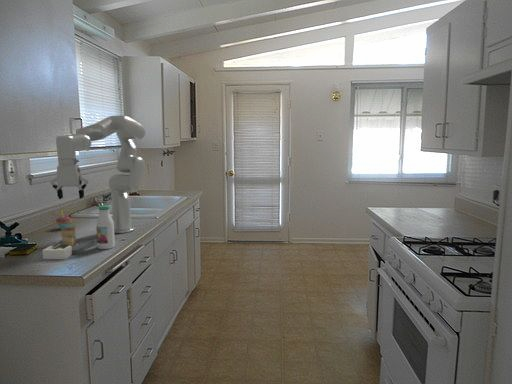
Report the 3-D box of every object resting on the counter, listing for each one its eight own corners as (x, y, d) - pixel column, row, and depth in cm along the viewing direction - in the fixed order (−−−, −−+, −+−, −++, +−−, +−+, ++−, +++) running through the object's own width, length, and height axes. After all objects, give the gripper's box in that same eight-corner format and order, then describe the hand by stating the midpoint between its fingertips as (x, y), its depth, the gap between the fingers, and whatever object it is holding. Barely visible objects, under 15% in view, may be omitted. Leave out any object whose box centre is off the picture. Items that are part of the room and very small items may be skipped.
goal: (51, 254, 174) (50, 245, 174) (72, 254, 174) (71, 245, 174) (43, 259, 168) (42, 250, 167) (65, 259, 168) (64, 250, 167)
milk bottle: (109, 244, 191) (107, 204, 188) (118, 246, 186) (115, 205, 183) (94, 247, 185) (91, 206, 182) (103, 250, 180) (100, 208, 177)
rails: (59, 245, 182) (59, 244, 182) (79, 245, 182) (79, 243, 182) (50, 250, 174) (50, 248, 174) (71, 250, 174) (71, 248, 174)
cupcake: (68, 230, 219) (67, 209, 217) (53, 230, 219) (51, 209, 217) (75, 226, 228) (74, 206, 226) (60, 226, 228) (59, 206, 226)
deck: (61, 244, 190) (61, 240, 190) (92, 244, 190) (92, 240, 190) (44, 254, 174) (44, 250, 174) (78, 254, 174) (78, 250, 174)
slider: (66, 243, 184) (65, 226, 183) (76, 243, 184) (75, 226, 183) (62, 245, 180) (61, 228, 179) (72, 245, 180) (71, 228, 179)
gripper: (89, 161, 185) (92, 196, 188) (52, 161, 184) (56, 197, 188) (82, 162, 177) (86, 199, 181) (44, 163, 177) (48, 200, 180)
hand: (71, 198), depth 184 cm, fingers open, 9 cm apart
